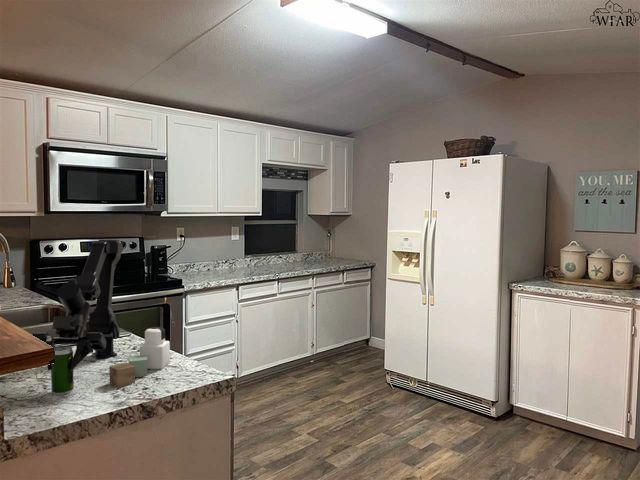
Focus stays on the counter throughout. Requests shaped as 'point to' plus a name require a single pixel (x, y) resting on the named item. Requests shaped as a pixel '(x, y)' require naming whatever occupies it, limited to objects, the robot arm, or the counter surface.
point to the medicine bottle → (156, 348)
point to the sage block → (139, 365)
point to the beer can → (62, 371)
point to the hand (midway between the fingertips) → (59, 369)
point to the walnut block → (122, 374)
